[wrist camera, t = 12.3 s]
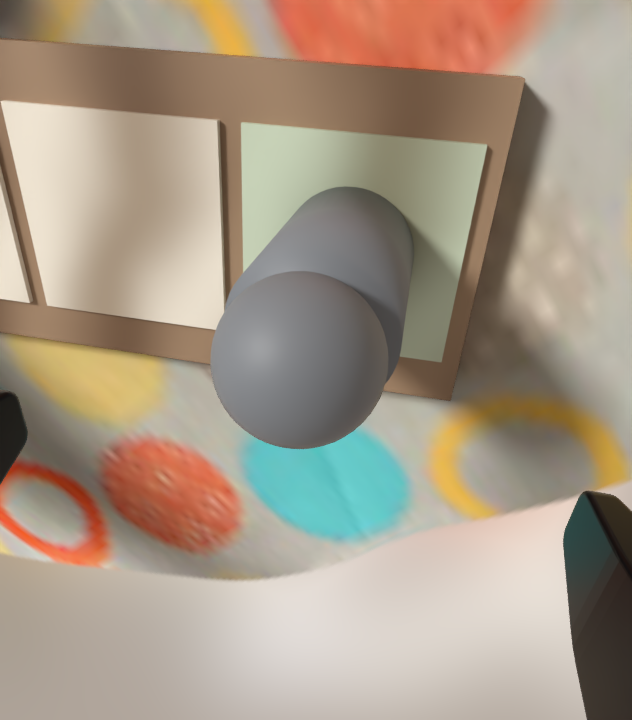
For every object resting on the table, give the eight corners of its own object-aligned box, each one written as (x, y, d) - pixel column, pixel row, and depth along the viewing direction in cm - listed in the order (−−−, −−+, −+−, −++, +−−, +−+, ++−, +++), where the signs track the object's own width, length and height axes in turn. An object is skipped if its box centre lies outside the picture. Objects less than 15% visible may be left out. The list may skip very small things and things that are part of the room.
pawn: (282, 303, 18) (178, 473, 11) (286, 178, 16) (160, 291, 9) (403, 320, 17) (375, 512, 10) (424, 194, 15) (406, 328, 8)
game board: (-104, 302, 23) (-130, 314, 22) (-214, 21, 17) (-254, 21, 16) (449, 385, 20) (450, 404, 19) (520, 76, 14) (526, 79, 13)
